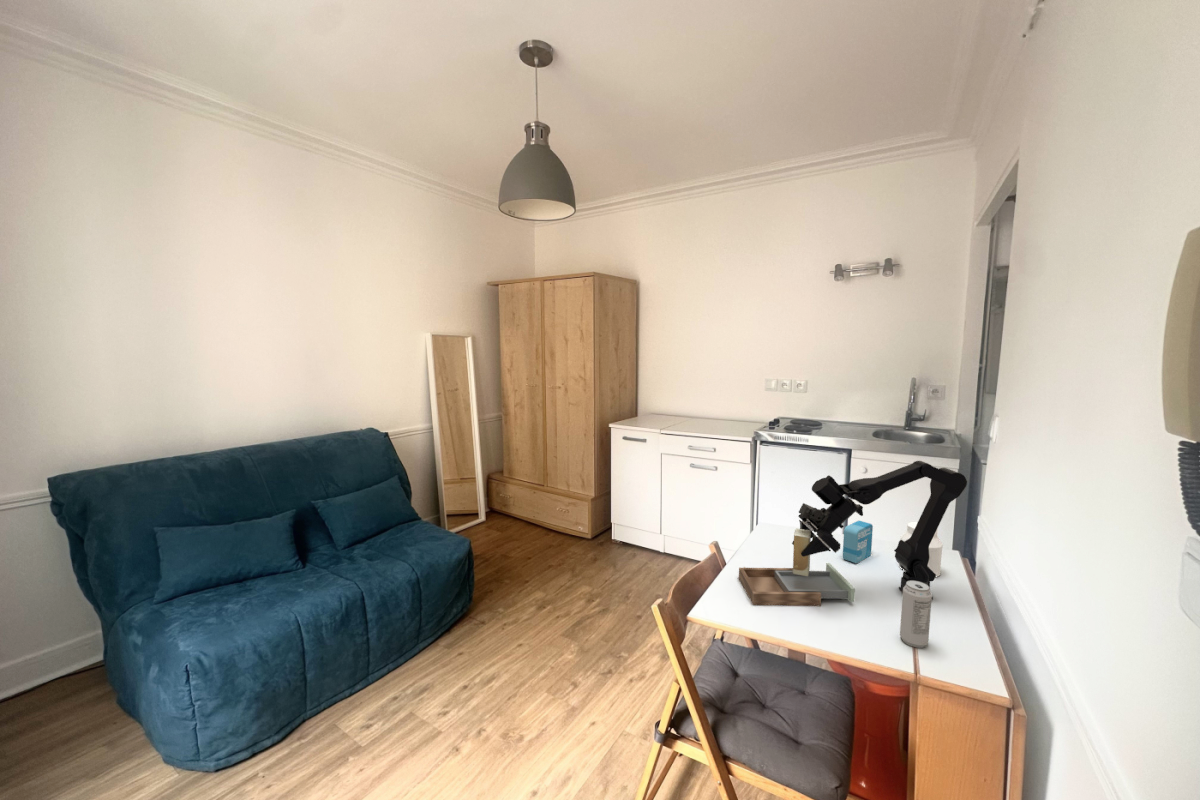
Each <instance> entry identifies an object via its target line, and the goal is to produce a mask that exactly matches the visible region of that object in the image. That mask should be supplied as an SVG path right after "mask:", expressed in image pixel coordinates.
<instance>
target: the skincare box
mask: <svg viewBox="0 0 1200 800" xmlns="http://www.w3.org/2000/svg"><path fill="white" fill-rule="evenodd" d="M811 539H812V538H811V530H804V529H800V528H795V530H794V533H793V540H794V545H793V556H792V558H793V559H792V560H793V561H792V568H793V574H797V575H802V576H808V575H809V571H811V570H810V569H811V568H810V567H811V566H810V565H811V555H808V556H804V557H803V556H802V555H801V553H802V551H803V550H804V549H805V548H806V547H807V545H808V544H809V543H810V542H811V541H812V540H811Z"/></svg>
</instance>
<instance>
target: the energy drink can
mask: <svg viewBox="0 0 1200 800" xmlns="http://www.w3.org/2000/svg"><path fill="white" fill-rule="evenodd" d="M932 595H933V594H932V592H931V591H930V590H929V586H928V585H926V584H924V583H922V582H919V581H907V582H906V585H905V586H904V587H903V592H902V596H901V597H902V599H901V614H900V626H899V627H900V628H899V636H900V638H901V640H902V641H903V643H905V644H906V645H907V646H911V647H913V648H918V649H921V648H922V649H923V648H925V647H926V645H928V644H929V639H930V623H931V613H932V600H933V599H932V597H933V596H932Z"/></svg>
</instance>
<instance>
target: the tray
mask: <svg viewBox="0 0 1200 800" xmlns="http://www.w3.org/2000/svg"><path fill="white" fill-rule="evenodd" d="M825 564H826V566H825V570H809V575H808V576H802V575H797V574H793V571H774V577H775V579H776V580H777V582H778V583H779V585H780V586H781V588H782V589H783V590H784V592H820V593H821V599H839V600H841V599H844V600H845V599H848V601H849V602H850V603H855V596H856V595H855V594H856V588H855V587H854V586H853V585H852V584H851V583H850V582H849V581H848V580H847V579H846V578H845V576H843V575H842V574H841V573H840V572H839V571H838V570H837V569H836V568H835V567H834V566H833V564H831V563H830V562H826V563H825Z"/></svg>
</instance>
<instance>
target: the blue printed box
mask: <svg viewBox="0 0 1200 800" xmlns="http://www.w3.org/2000/svg"><path fill="white" fill-rule="evenodd" d="M873 529H874V526H873V524H872V523H869V522H866V521H862V520H856V521H854V522H852V523H850V524H848V525H846V526H844V529H843V541H842V543H843V544H842V559H843V560H845V561H847V562H851V563H853V564H856V563H857V564H859V563H860V561H861V562H862V561H863V560H865V558H866V559H868V558H869V557H870V556H871V554H872V545H873V531H874V530H873Z"/></svg>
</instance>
